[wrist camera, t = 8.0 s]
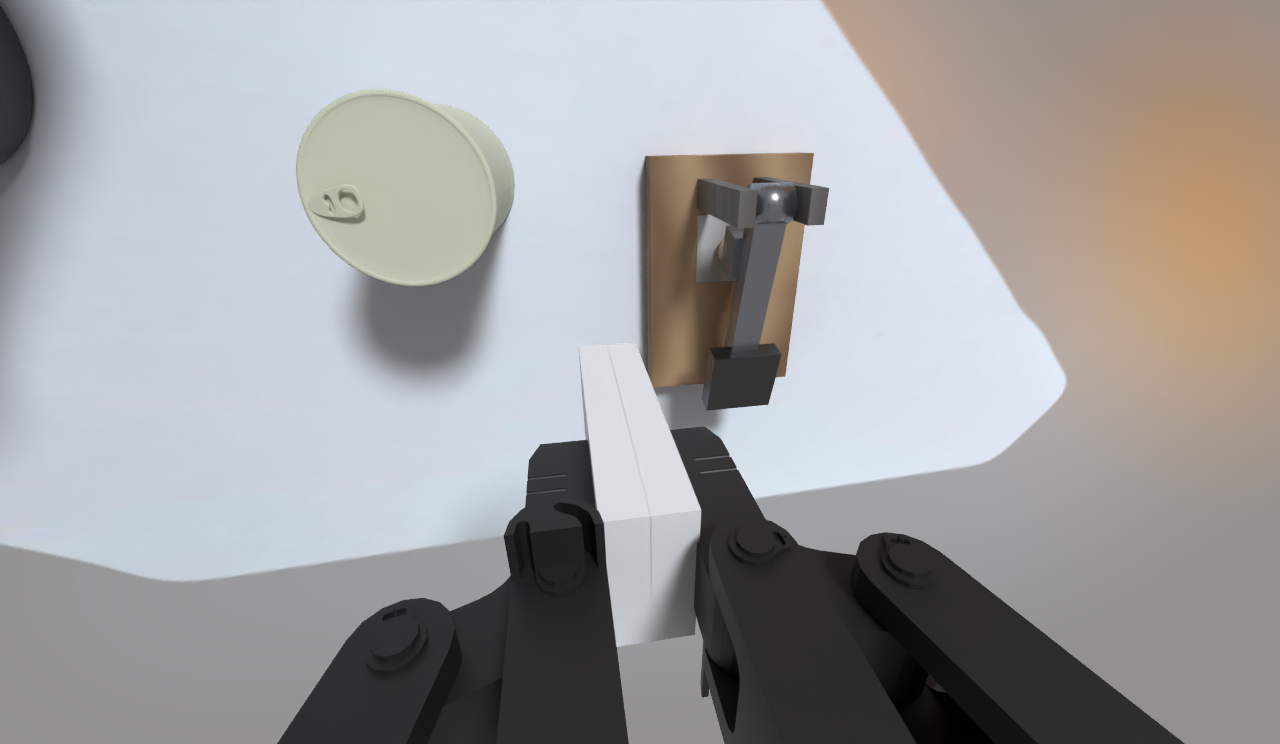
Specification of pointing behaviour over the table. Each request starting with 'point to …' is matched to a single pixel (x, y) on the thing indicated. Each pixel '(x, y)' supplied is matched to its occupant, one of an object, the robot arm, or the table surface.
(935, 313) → the table surface
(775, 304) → the base
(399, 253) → the can
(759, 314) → the lever
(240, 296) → the table surface
